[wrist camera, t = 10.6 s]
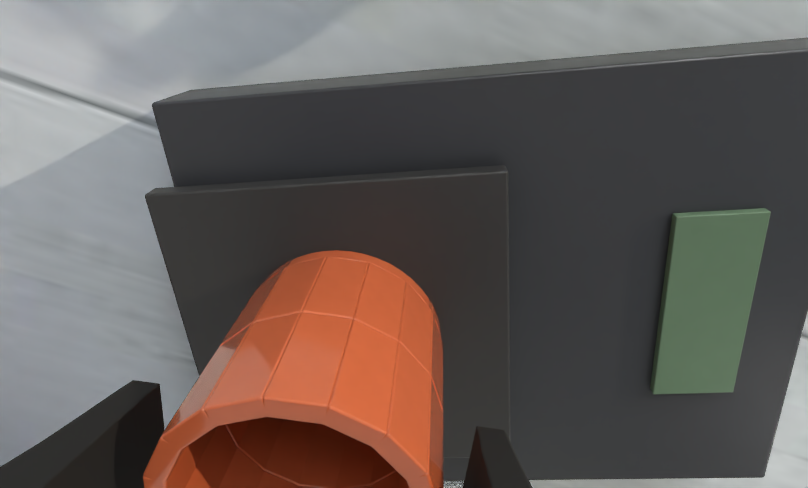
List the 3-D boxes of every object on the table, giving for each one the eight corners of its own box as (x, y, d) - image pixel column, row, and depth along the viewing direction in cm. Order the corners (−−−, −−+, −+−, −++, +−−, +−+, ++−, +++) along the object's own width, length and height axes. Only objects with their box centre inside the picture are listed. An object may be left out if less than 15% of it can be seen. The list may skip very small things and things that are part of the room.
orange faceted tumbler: (249, 400, 17) (156, 591, 11) (247, 237, 14) (128, 379, 9) (427, 423, 17) (420, 628, 11) (454, 263, 14) (463, 424, 9)
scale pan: (231, 448, 18) (224, 462, 18) (154, 187, 15) (142, 194, 14) (508, 443, 18) (510, 458, 17) (506, 164, 14) (508, 170, 13)
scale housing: (274, 436, 22) (253, 490, 19) (188, 89, 16) (144, 105, 14) (730, 427, 20) (770, 486, 18) (813, 37, 15) (889, 43, 12)
